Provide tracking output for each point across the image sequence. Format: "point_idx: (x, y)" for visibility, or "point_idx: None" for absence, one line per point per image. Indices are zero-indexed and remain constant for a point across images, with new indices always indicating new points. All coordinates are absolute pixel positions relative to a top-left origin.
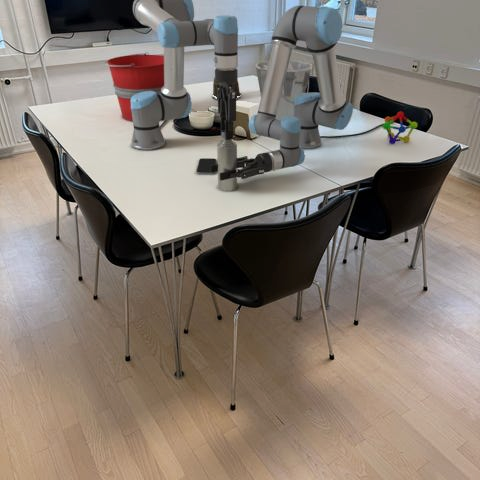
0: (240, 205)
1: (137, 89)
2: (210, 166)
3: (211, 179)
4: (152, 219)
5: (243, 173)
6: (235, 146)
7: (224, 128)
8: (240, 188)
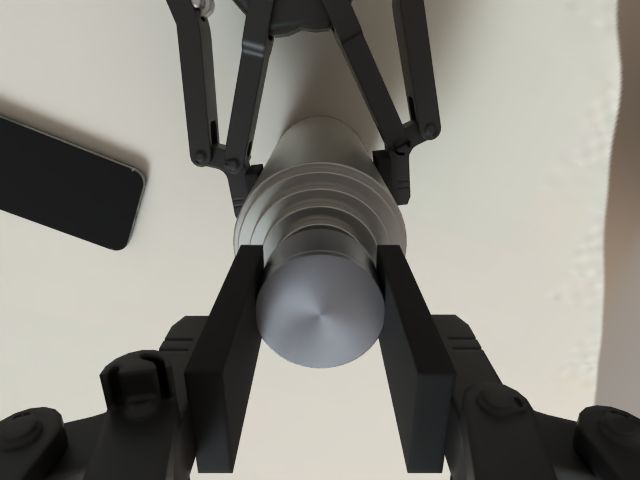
0: (520, 177)
1: None
2: None
3: (207, 204)
4: None
5: (439, 128)
6: (385, 195)
7: (253, 328)
8: (358, 107)
